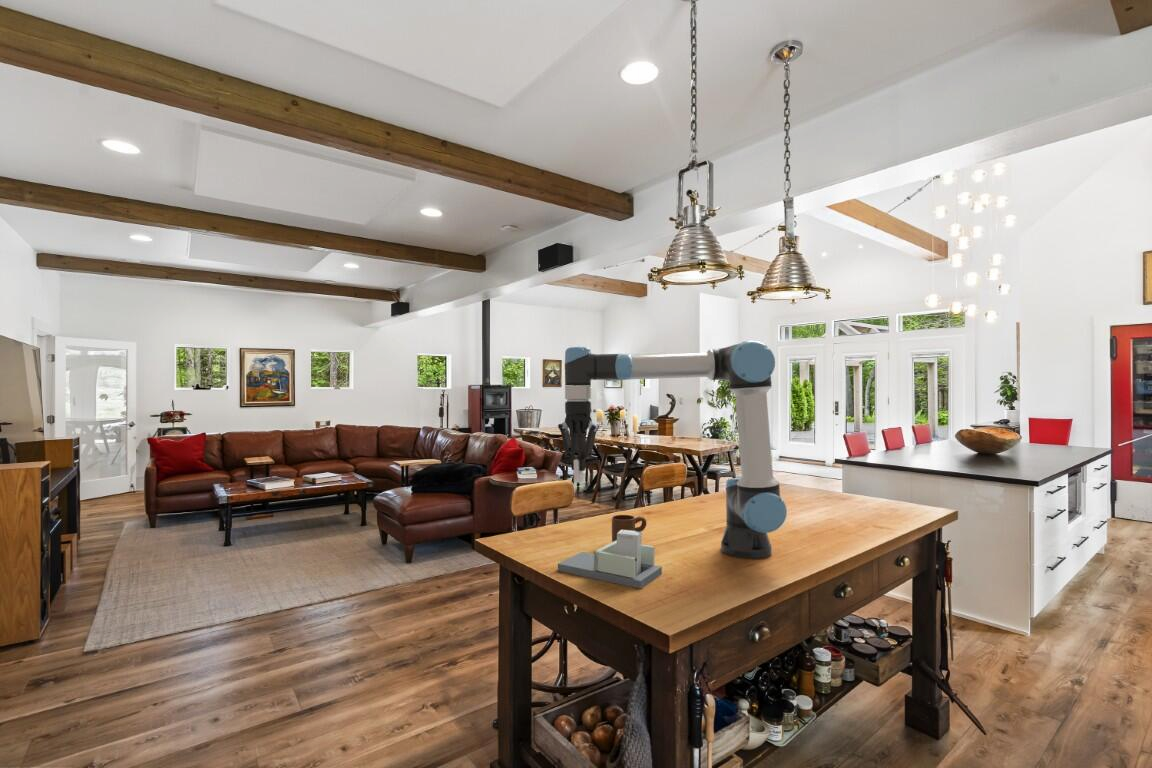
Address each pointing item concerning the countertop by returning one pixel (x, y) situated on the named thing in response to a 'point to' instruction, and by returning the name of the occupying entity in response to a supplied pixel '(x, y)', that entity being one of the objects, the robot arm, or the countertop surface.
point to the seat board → (585, 567)
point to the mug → (626, 524)
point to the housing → (621, 560)
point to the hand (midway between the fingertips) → (578, 481)
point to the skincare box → (630, 546)
